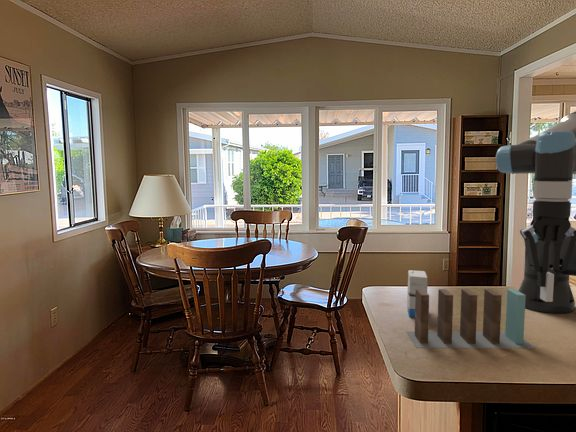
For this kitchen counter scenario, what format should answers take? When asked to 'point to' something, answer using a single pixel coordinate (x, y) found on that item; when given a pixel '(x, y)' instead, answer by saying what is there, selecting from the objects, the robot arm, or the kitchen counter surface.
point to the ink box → (415, 282)
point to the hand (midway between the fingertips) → (546, 299)
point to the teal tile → (515, 316)
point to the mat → (461, 343)
